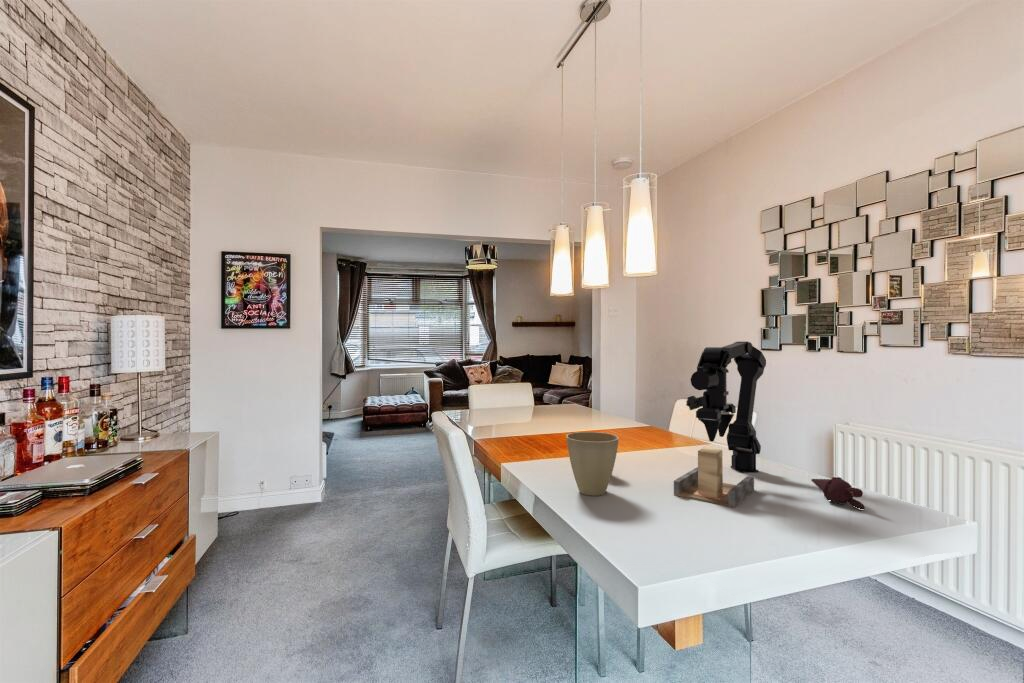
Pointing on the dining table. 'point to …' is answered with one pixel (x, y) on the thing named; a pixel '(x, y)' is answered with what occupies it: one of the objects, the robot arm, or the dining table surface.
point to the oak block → (710, 472)
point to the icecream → (839, 491)
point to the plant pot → (592, 460)
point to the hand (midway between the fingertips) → (716, 438)
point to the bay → (729, 497)
